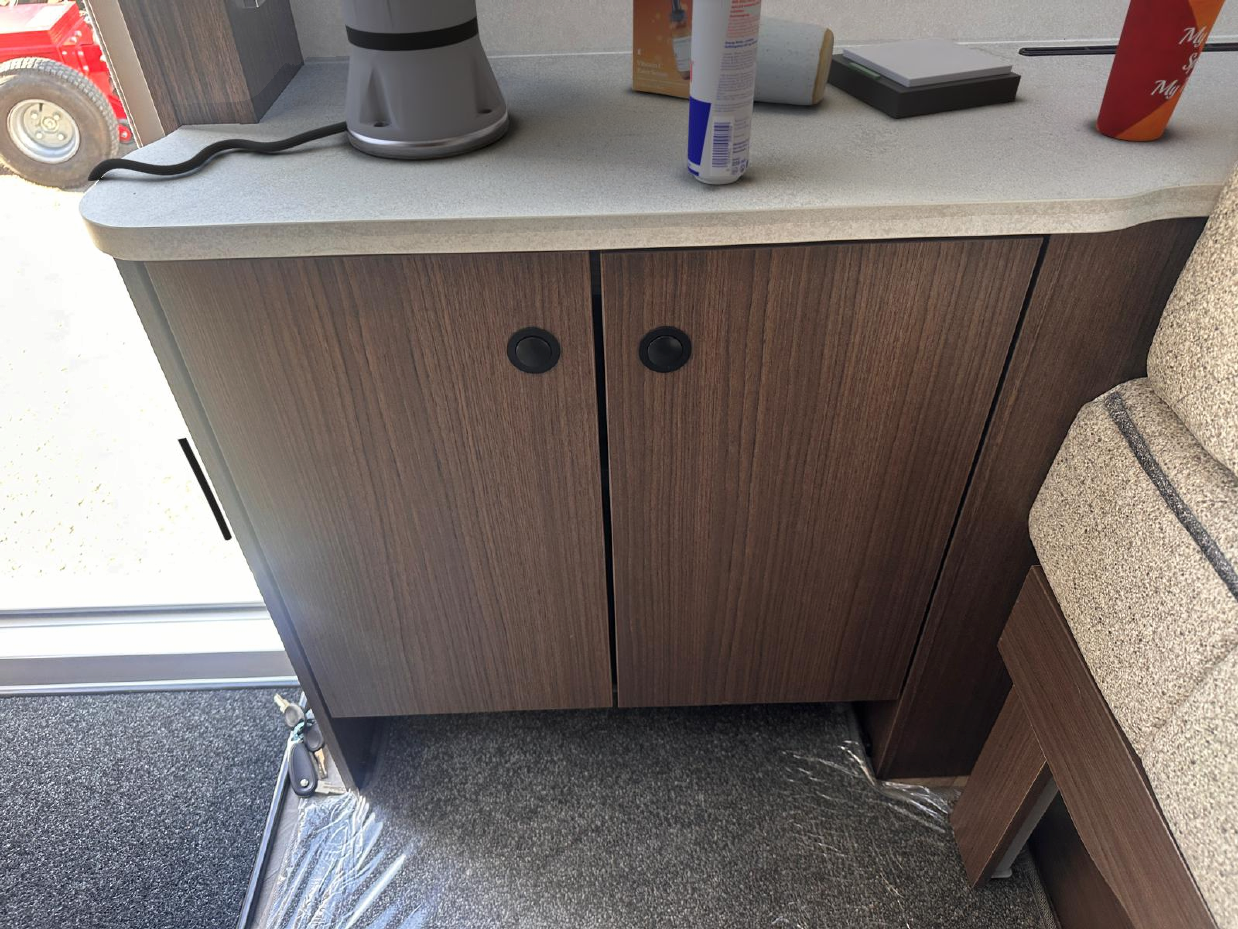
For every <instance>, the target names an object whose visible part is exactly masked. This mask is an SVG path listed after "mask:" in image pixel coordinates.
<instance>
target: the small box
mask: <svg viewBox="0 0 1238 929" xmlns="http://www.w3.org/2000/svg"><path fill="white" fill-rule="evenodd" d="M692 15H693V0H632V57H631V58H632V59H631V60H632V62H631V65H632V68H631V72H632V77H631V78H632V80H631V81H632V82H631V87H632V89H631V90H632V91H639V92H640V91H641V92H647V93H653V94H659V95H667V96H671V97H677V98H683V99H687V100H690V71H691V43H692Z"/></svg>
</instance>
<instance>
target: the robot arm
mask: <svg viewBox="0 0 1238 929" xmlns="http://www.w3.org/2000/svg"><path fill="white" fill-rule="evenodd" d="M476 1H477V0H339V3H340V8H341V13H342V17H343V22H344V26H345V31H346V36H347V41H348V47H349V63H348V76H347V87H346V97H345V98H346V100H345V111H344V119H345V121H344V120H343V121H341V122H337V123H333V124H329V125H325V126H322V127H318V128H315V129H310V130H308V131H305V132H301V133H298V134H296V135H294V136H290V137H287V138H284V139H280V140H275V141H268V142H267V141H256V140H251V139H243V138H229V139H223V140H218V141H216V142H213V143H210V144H209V145H206V146H204V147H203V148H202V149H201V150H200V151H199V152H197V154H195V155H194V156H193V157H191V158H190V159H188V160H185V161H182V162H180V163H175V164H163V165H161V164H153V163H146V162H142V161H137V160H133V159H127V158H118V157H117V158H116V157H115V158H107V159H105V160H103V161H101V162H99V163H98V164H97V165H96V166H95V167H94V168H93V169H92V170H91V171H90V173H89V175H88V177H87V181H88V182H96V181H99V180H101V179H102V178H103V177H104V175H106V174H107V173H108V172H110V171H112V170H130V171H134V172H137V173H142V174H148V175H152V176H153V175H154V176H163V177H164V176H165V177H166V176H176V175H182V174H185V173H189V172H191V171H194V170H196V169H197V168H199V167H201V166H202V165H204V164H205V163H206V162H207V161H208V160H209V159H210V158H211V157H213V156H214V155H216V154H218V153H220V152H224V151H227V150H234V149H238V150H239V149H241V150H247V151H253V152H260V153H274V152H275V153H276V152H282V151H286V150H289V149H293V148H295V147H298V146H301V145H303V144H307V143H309V142H313V141H317V140H320V139H323V138H328V137H330V136H334V135H338V134H342V133H345V132H347V136H348V141H349V142H350V144H351V145H352V146H353V147H354V148H356V149H357V150H359V151H361V152H363V153H366V154H369V155H373V156H378V157H383V158H390V159H402V160H403V159H405V160H410V159H411V160H415V159H417V160H419V159H433V158H444V157H449V156H454V155H460V154H464V153H468V152H471V151H476V150H478V149H481V148H483V147H486V146H488V145H490V144H492V143H494V142H496V141H498V140H499V139H501V137H503V136H504V135H505V134H506V133H507V132H508V129H509V127H510V126H509V125H510V123H509V114H508V106H507V103H506V99H505V97H504V95H503V92H502V90H501V87H500V85H499V83H498V81H497V78H496V75H495V73H494V71H493V68H492V66H491V64H490V61H489V59H488V57H487V54H486V51H485V49H484V46H483V44H482V41H481V37H480V36H481V35H480V29H479V21H478V11H477V2H476ZM176 440H177V442H178V444H179V446H180V447H181V450H182V452H183V454H184V456H185V458H186V460H187V462H188V465H189V466H190V469H191V470H192V472H193V474H194V476H195V478H196V480H197V482H198V484H199V486H200V489H201V491H202V493H203V495H204V497H205V500H206V502H207V504H208V506H209V507H210V508H209V509H210V511H211V513H212V514H213V517H214V519H215V521H216V523H217V526H218V528H219V530H220V532H221V534H222V537H223V539H224V541H227V542H228V541H231V540H232V538H233V536H232V533H231V531H230V529H229V527H228V524H227V522H226V519H225V517H224V515H223V513H222V511H221V507H220V506H219V504H218V502H217V500H216V497H215V495H214V492H213V491H212V488H211V486H210V484H209V482H208V479H207V478H206V475H205V474H204V472H203V470H202V467H201V465H200V463H199V461H198V459H197V457H196V455H195V452H194V451H193V449H192V447H191V444H190V443H189V441H188V438H187V437H182V438H177V439H176Z"/></svg>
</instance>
